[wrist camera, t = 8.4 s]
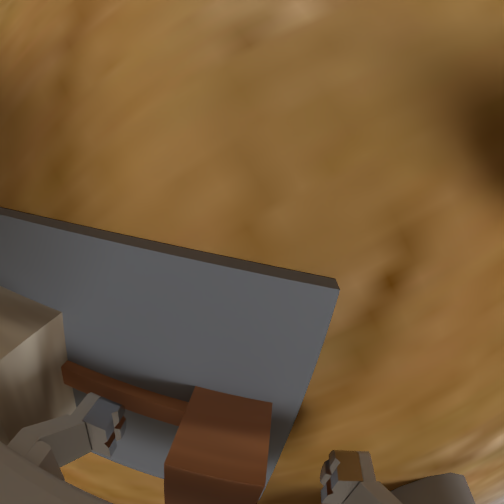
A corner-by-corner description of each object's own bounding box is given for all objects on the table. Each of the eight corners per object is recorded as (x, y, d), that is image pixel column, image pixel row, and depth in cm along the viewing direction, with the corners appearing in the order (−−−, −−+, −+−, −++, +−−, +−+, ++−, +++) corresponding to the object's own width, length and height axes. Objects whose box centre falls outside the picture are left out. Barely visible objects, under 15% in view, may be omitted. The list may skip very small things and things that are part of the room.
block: (-20, 276, 11) (-90, 313, 7) (281, 373, 11) (275, 488, 6) (0, 369, 13) (-51, 414, 8) (250, 465, 12) (237, 553, 8)
